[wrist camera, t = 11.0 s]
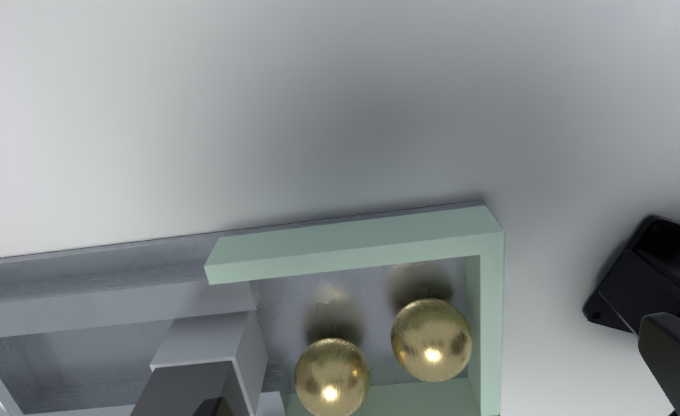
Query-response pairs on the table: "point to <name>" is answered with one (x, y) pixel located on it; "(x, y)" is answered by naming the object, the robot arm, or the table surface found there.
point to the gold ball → (431, 340)
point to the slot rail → (275, 311)
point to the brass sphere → (332, 377)
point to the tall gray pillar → (206, 366)
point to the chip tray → (386, 249)
